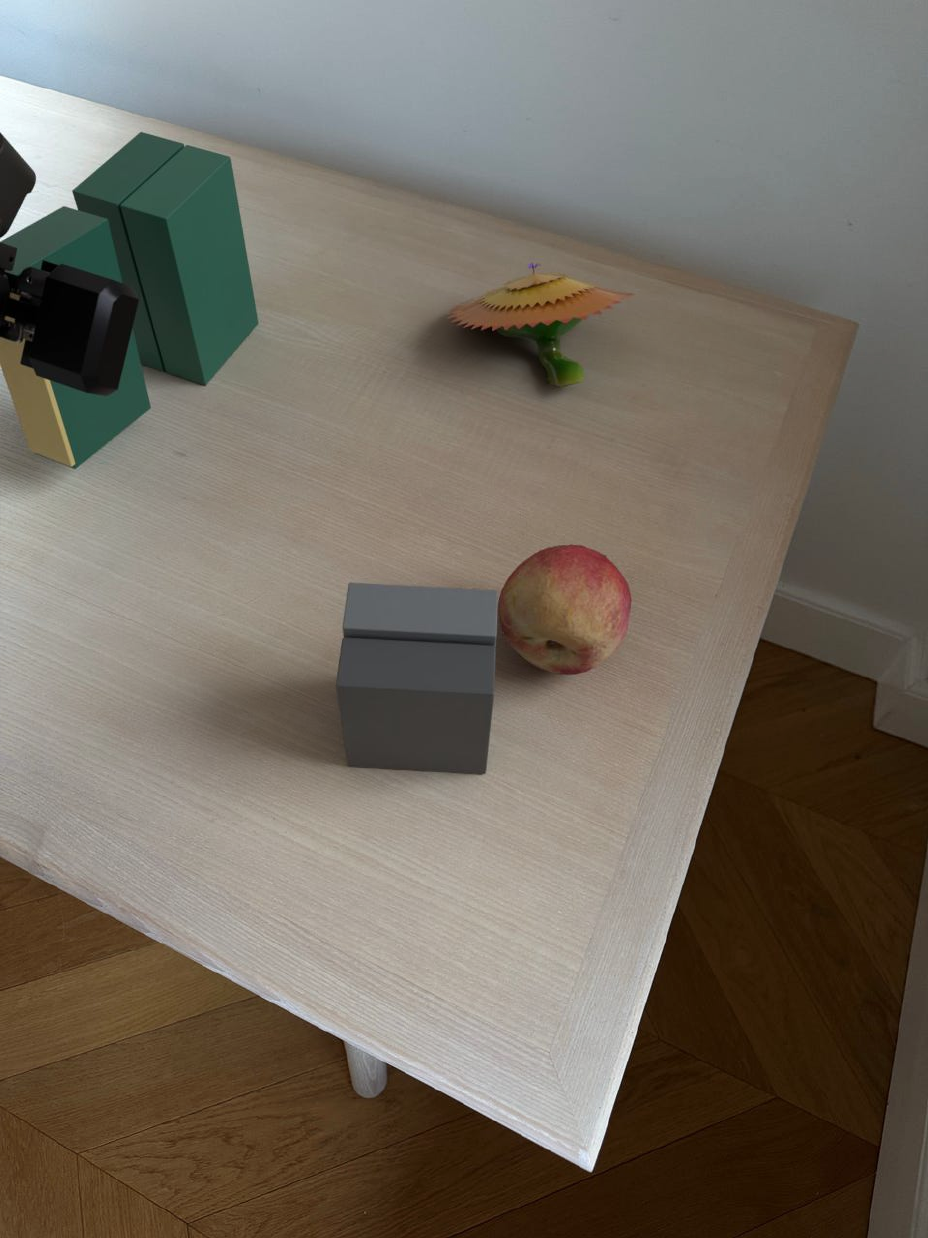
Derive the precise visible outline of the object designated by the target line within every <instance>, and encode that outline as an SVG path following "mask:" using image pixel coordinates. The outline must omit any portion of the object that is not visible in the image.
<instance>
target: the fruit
mask: <svg viewBox="0 0 928 1238" xmlns="http://www.w3.org/2000/svg"><path fill="white" fill-rule="evenodd" d="M631 608H632V593H631V589H630V585H629V583H628V581H627V580H626V578H625V577H624V575H623V574H622V573H621V572H620V570H619V568H618V567H617V566H616V565H615V564H614V563H613V561H611V560H610V559H609V558H608V557H607V555H606V554H603V553H601V552H600V551H597V550H595V549H593V548H590V547H587V546H585V545H581V544H573V543H571V544H558V545H555V546H549V547H545V548H543V549H540V550H538V551H537V552H535V553H533V554H531V555H530V556H529V557H527V558H526V559H524V560H523V561H522V562H521V563H520V564H518V566H517V567H516V568H515V569H514V570H513V571H512V573H510V574H509V576H508V577H507V579H506V581H505V582H504V584H503V587H502V588H501V591H500V594H499V596H498V608H497V619H498V622H499V625H500V629H501V631H502V634H503V636H504V638H505V640H506V641H507V642H508V644H509V645H510V646H511V647H512V649H514V650H515V652H517V653H518V654H519V655H520V656H521V657H522V658H523V659H524V660H525V661H526V662H527V663H529V664H530V665H533V666H535V667H536V668H539V669H541V670H545V671H547V672H549V673H551V674H555V675H563V676H575V675H581V674H583V673H587V672H590V671H591V670H594V669H595V668H597V667H599V666H600V665H602V664H604V663H605V662H606V661H608V660H609V659H610V658H612V656H613V655H614V654H615V653H616V651H617V650H618V649H619V647H620V646H621V644H622V642H623V641H624V639H625V638H626V635H627V632H628V628H629V621H630V614H631Z"/></svg>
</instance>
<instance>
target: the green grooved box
mask: <svg viewBox="0 0 928 1238" xmlns="http://www.w3.org/2000/svg"><path fill="white" fill-rule="evenodd" d="M234 175H235V174H234V170H233V162H232V158H231V156H229V155H225V154H223V153H222V154H221V153H219V152H216V151H215V152H214V151H211V150H207V149H204V148H200V147H197V146H193V145H189V144H184V143H182V142H180V141H176V140H172V139H169V138H168V139H167V138H166V137H165V138H164V137H161V136H158V135H155V134H151V133H146V132H144V131H140V132H139V133H137V135H135V136H134V137H133V138H132V139H130V140H129V141H128V142H127V143H126V144H124V145H123V146H122V147H121V148H120V149H119V150H118V151H116V152H115V153H113V155H112V156H111V157H110V158H108V159H107V160H105V162H104V163H102V164H101V165H100V166H99V167H98V168H97V169H95V170H94V171H93V172H92V173H91V174H90V175H88V177H86V178H85V179H83V181H81V182H80V183H79V184H78V185H77V186H76V187H74V189H72V190H71V192H72V195H73V198H74V202H75V205H76V209H77V210H79V211H82V212H86V213H89V214H93V215H96V216H99V217H103V218H106V219H108V222H109V226H110V231H111V235H112V239H113V244H114V248H115V253H116V257H117V261H118V266H119V270H120V275H121V279H122V283H124V284H127V285H130V286H132V287H133V288H134V290H135V292H136V294H137V296H138V298H139V303H138V307H137V311H136V315H135V320H134V324H133V331H134V336H135V340H136V345H137V349H138V353H139V358H140V362H141V366H142V365H143V366H146V367H148V368H152V369H155V370H157V371H160V372H166V374H170V375H173V376H175V377H179V378H182V379H185V380H187V381H191V382H194V383H197V384H200V385H203V386H207V385H208V383H209V382H210V381H211V380H212V379H213V377H214V376H215V375H216V374H217V373H218V372H219V371H220V369H221V368H222V367H223V366H224V365H225V364H226V362H227V361H228V360H229V359H230V358H231V356H232V355H233V354H234V353H235V352H236V351H237V350H238V348H239V347H240V346H241V345H242V344H243V342H244V341H245V340H246V339H247V338H248V336H250V334H251V333H252V332H253V331H254V330H255V328H257V326H258V325H259V318H258V311H257V305H256V299H255V293H254V289H253V282H252V276H251V275H252V274H251V270H250V269H251V268H250V265H249V259H248V252H247V247H246V240H245V235H244V229H243V224H242V217H241V211H240V205H239V199H238V194H237V186H236V181H235V176H234Z"/></svg>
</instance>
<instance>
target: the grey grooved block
mask: <svg viewBox="0 0 928 1238" xmlns="http://www.w3.org/2000/svg"><path fill="white" fill-rule="evenodd" d="M498 602H499V591H498V590H494V589H474V588H459V587H458V588H457V587H442V586H441V587H438V586H437V587H436V586H421V585H401V584H384V583H364V582H348V585H347V592H346V599H345V606H344V613H343V621H342V634H343V635H342V636H343V638H342V639H341V644H340V652H339V660H338V666H337V674H336V680H335V681H336V682H335V689H336V697H337V703H338V709H339V711H338V712H339V717H340V724H341V731H342V738H343V744H344V750H345V751H344V752H345V758H346V765H347V767H352V768H368V769H369V768H370V769H386V770H388V769H389V770H403V771H404V770H405V771H421V772H422V771H423V772H439V773H440V772H442V773H456V774H457V773H459V774H477V775H478V774H479V775H486V774H487V768H488V758H489V757H488V756H489V747H490V738H491V729H492V719H493V712H494V711H493V709H494V700H495V684H496V683H495V681H496V655H497V654H496V653H497V652H496V651H497V648H496V647H497V631H498Z"/></svg>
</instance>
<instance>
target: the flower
mask: <svg viewBox="0 0 928 1238" xmlns="http://www.w3.org/2000/svg"><path fill="white" fill-rule="evenodd" d="M538 266H542V264H541V263H538V262H537V263H536V264H535V265H534V262H531V263H527V267H528V269H531V270H532V274H529V275H526V276H521V277H519V278H518V277H517V278H514V279H513V280H509V281H507V282H505V283H503V284H501V285H502V286H500V287H497V288H494V289H492V290H489V291H487V292H484V294H483V293H482V294H481V296H477V297H476V298H471V299H468V300H466V301H464V302H459V303H458V305H454V306H453V308H451V309H449V312H448V313H447V312H446V315H450V314H451V315H450V316H448V317H447V319H451V318H454V319H453V320H452V321H450V323H451V324H452V323H454V322H458V323H457V324H456V326H461V325H464V327H462V328H463V329H465V328H467V327H471V326H472V328H471V330H473V329H476V328H479V327H481V329H480V331H484V330H486V329H488V328H492V329H491V330H492V332H493V331H495V330H496V332H497V333H498V334H500V335H502V336H504V337H507V338H515V339H516V338H517V339H525V340H532V341H533V342H535V343H536V345H537V348H538V357H539V361H540V362H539V363H540V364H541V366H542V367H543V368H544V370H546V373H547V376H546V377H547V381H548V383H549V384H550V385H552V386H556V387H568V386H573V385H576V384H579V383H581V382H582V381H584V380H585V378H586V374H585V371H584V368H583V366H582V364H581V363H580V361H577V360H574V359H571V358H569V357H567V356H566V355H565V354H564V353H563V352H562V351H563V350H562V349H561V343H562V340H563V337H565V336H567V335H568V334H570V332H572V331H573V330H574V329H575V328H576V327H577V326H578V325H579V324H580V323H581V322H582V321H584V320H585V321H586V320H587V318H588V316H589V315H603V314H602V312H601V310H609V309H610V310H611V309H612V310H613V309H614V307H612V306H611V305H616V304H622V302H621V301H619V300H629V299H630V298H628V297H631V296H634V293H633V292H628V291H623V290H616V289H611V288H605V287H601V286H597V284H594V283H591V282H588V281H587V282H586V281H581V280H578V279H575V278H571V277H568V274H565V273H559V272H558V273H553V272H546V273H544V272H541V273H535V269H536V268H538ZM465 324H466V325H465Z"/></svg>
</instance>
